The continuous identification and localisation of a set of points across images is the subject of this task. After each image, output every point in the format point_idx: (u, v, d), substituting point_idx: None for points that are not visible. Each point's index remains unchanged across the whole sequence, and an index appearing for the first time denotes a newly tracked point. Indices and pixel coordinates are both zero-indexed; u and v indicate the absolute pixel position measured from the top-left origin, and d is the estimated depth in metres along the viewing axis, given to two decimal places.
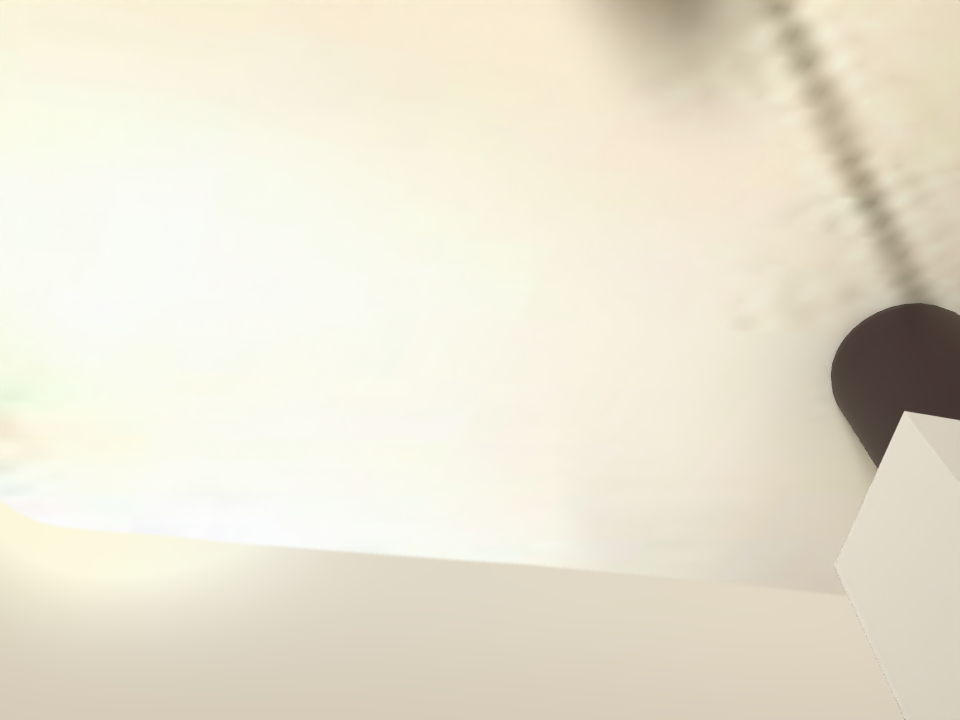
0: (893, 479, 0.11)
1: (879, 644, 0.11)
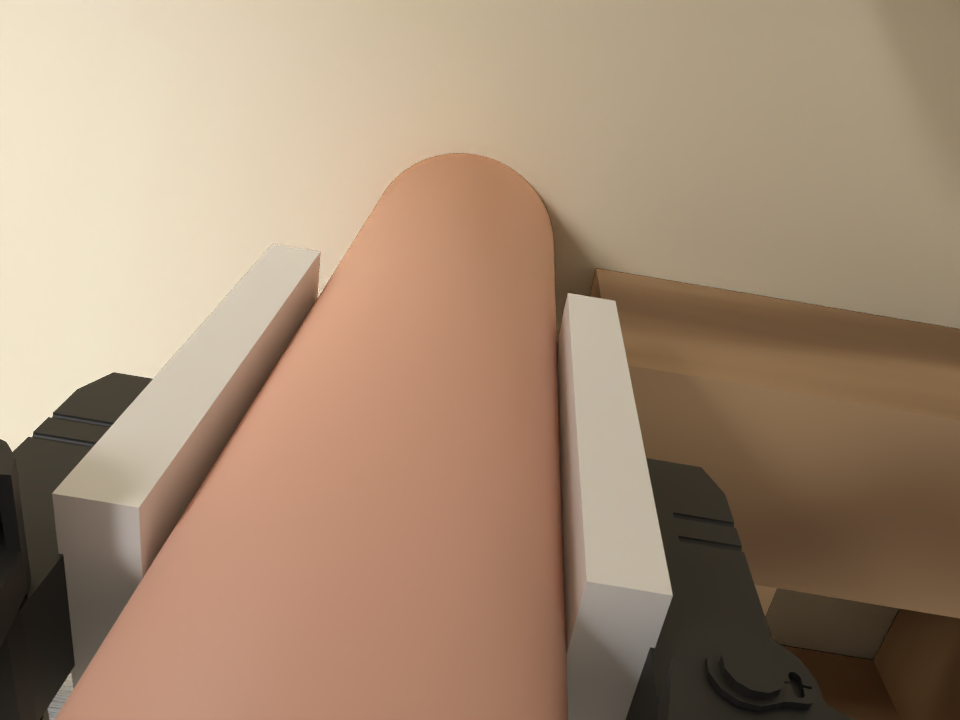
0: (558, 350, 0.13)
1: None
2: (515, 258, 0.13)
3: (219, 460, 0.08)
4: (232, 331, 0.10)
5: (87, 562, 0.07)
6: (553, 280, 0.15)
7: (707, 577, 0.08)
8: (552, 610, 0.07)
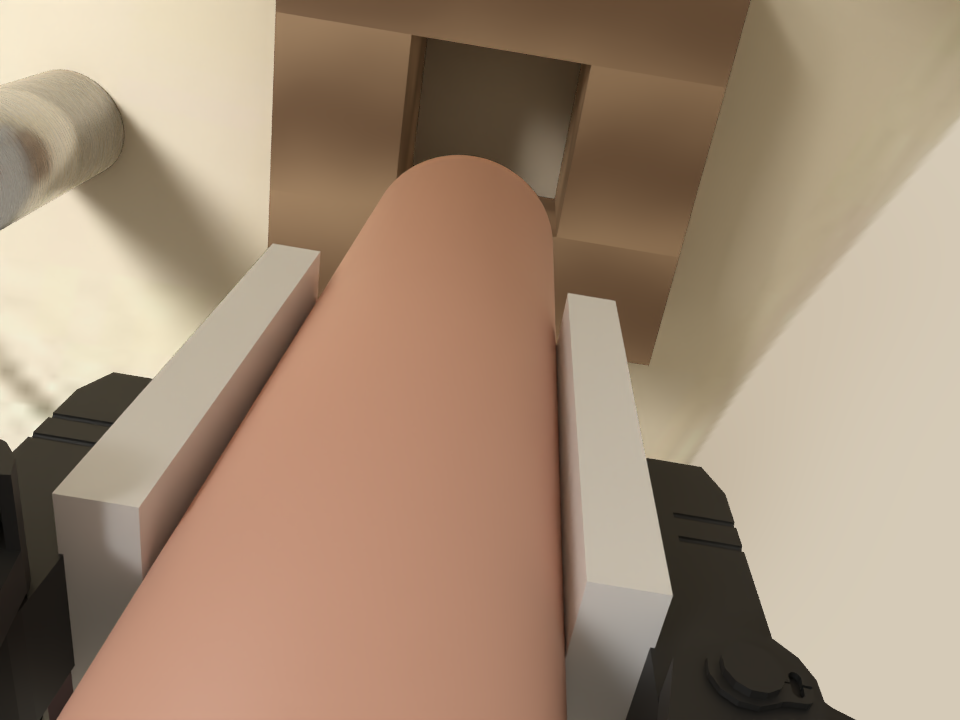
0: (557, 350, 0.13)
1: None
2: (514, 260, 0.13)
3: (219, 462, 0.08)
4: (232, 331, 0.10)
5: (87, 562, 0.07)
6: (552, 281, 0.15)
7: (707, 578, 0.08)
8: (551, 612, 0.07)
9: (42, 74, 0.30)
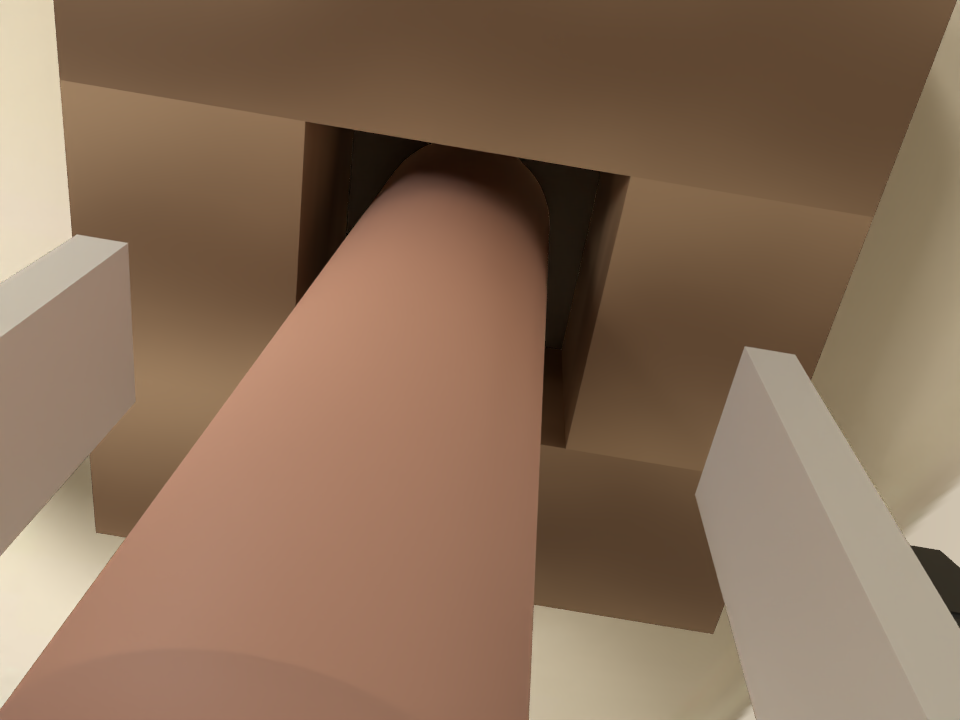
0: (735, 407, 0.12)
1: (717, 555, 0.12)
2: (508, 227, 0.14)
3: (240, 383, 0.10)
4: None
5: None
6: (546, 253, 0.16)
7: None
8: (521, 503, 0.08)
9: None
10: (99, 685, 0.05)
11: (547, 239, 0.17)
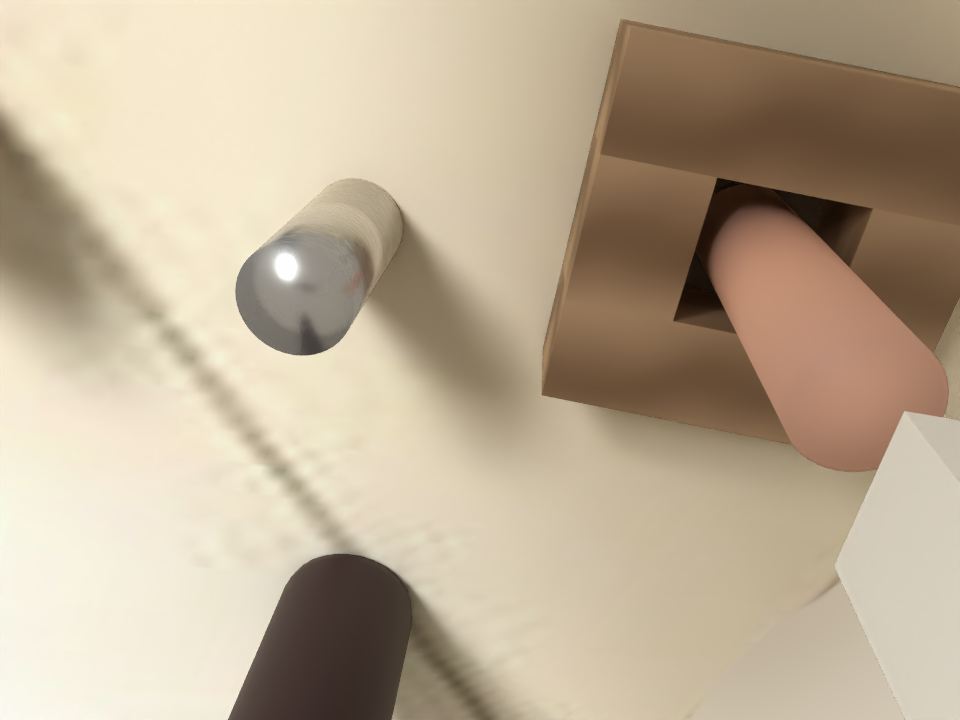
0: (894, 479, 0.11)
1: (879, 644, 0.11)
2: None
3: (770, 288, 0.25)
4: None
5: None
6: None
7: None
8: None
9: (345, 185, 0.34)
10: (847, 345, 0.20)
11: None
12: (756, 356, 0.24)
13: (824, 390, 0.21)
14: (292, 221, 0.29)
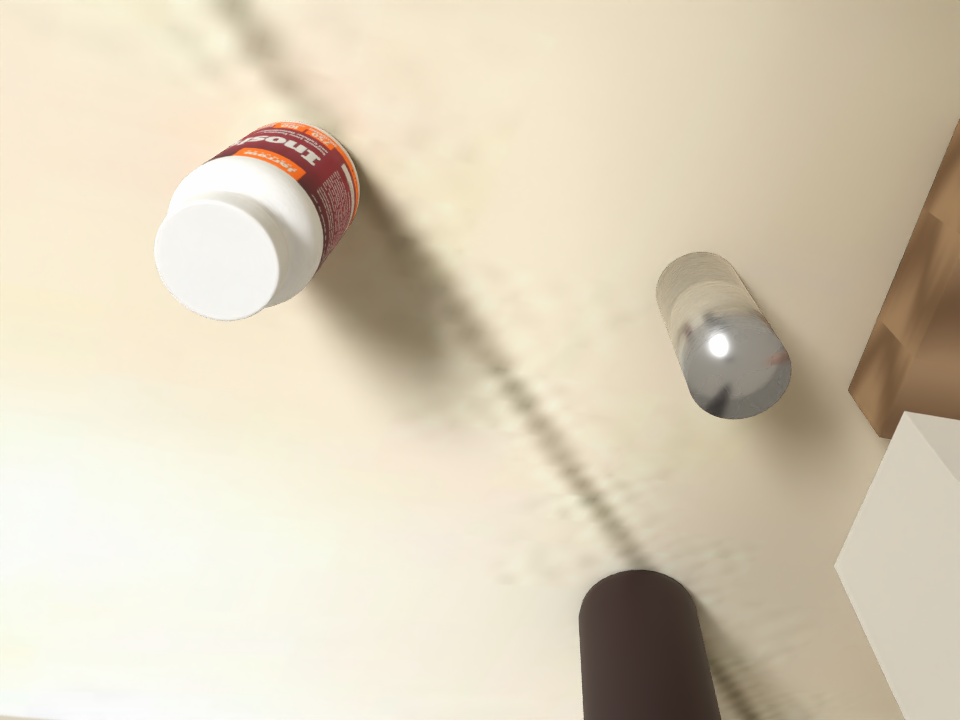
0: (894, 478, 0.11)
1: (879, 644, 0.11)
2: None
3: None
4: None
5: None
6: None
7: None
8: None
9: (702, 260, 0.39)
10: None
11: None
12: None
13: None
14: (707, 304, 0.35)
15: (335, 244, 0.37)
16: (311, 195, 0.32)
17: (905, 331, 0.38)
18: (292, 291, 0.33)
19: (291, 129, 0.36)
